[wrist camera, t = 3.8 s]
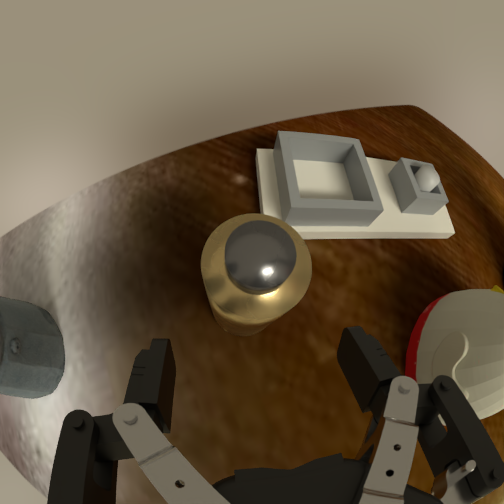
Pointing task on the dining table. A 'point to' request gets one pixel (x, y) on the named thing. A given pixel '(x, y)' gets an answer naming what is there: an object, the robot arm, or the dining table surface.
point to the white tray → (348, 190)
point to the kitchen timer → (462, 346)
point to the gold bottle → (254, 272)
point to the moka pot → (29, 350)
